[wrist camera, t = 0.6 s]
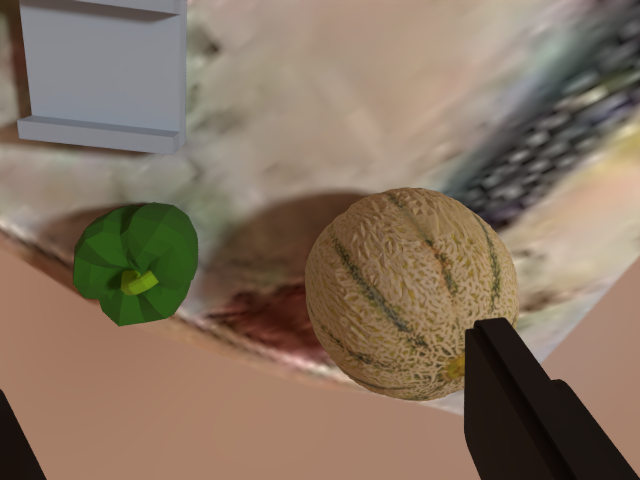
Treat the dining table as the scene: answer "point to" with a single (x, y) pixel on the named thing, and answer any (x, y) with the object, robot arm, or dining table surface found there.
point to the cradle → (106, 73)
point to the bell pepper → (137, 262)
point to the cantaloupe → (406, 290)
